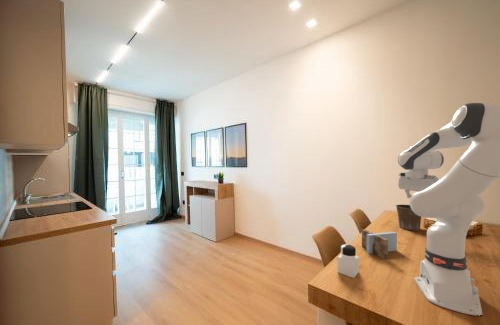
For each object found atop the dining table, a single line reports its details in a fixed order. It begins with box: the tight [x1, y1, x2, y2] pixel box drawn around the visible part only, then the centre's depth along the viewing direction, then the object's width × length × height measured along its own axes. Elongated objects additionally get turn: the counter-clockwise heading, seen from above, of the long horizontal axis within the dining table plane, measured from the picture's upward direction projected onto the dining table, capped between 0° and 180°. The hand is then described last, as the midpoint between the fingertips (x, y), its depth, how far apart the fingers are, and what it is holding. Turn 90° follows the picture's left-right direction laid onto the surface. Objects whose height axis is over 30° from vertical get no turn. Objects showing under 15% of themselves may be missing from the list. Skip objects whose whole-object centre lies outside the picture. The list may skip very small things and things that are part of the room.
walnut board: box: [361, 228, 389, 260], centre depth 115 cm, size 16×2×10 cm, turn 12°
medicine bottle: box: [337, 244, 360, 279], centre depth 95 cm, size 7×7×12 cm
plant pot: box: [395, 204, 422, 232], centre depth 154 cm, size 16×16×16 cm
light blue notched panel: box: [365, 231, 398, 254], centre depth 116 cm, size 18×2×10 cm, turn 102°
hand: (417, 199), depth 115 cm, fingers open, 8 cm apart
